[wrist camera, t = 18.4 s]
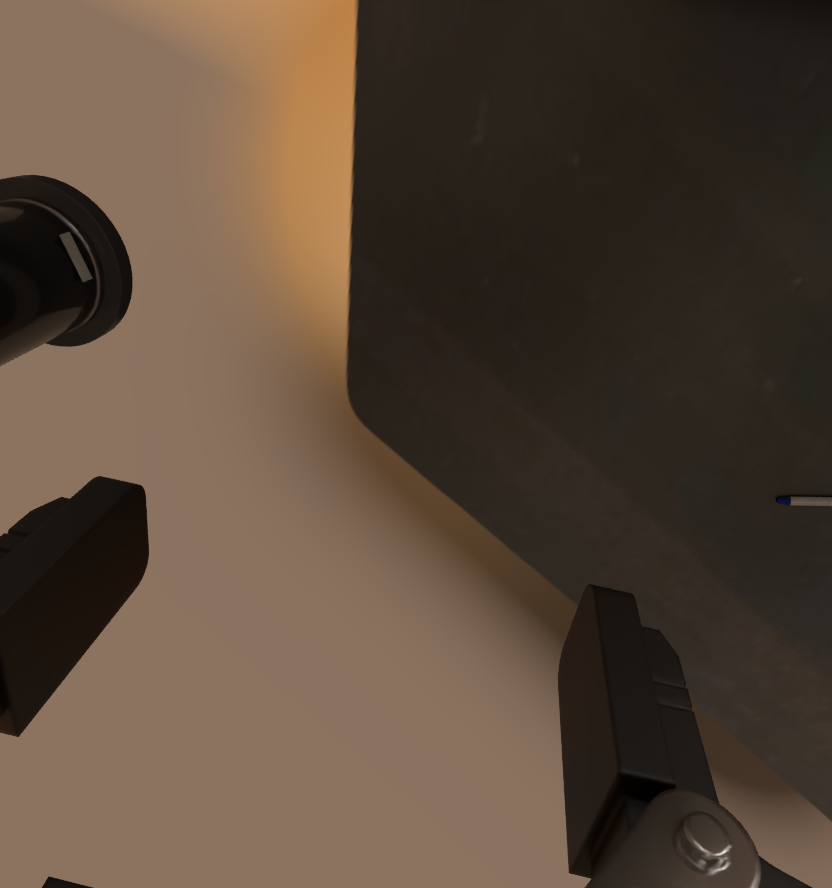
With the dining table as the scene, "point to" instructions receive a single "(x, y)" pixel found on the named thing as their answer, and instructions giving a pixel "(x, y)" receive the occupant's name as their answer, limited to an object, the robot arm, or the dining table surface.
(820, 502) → the ballpoint pen
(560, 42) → the dining table surface
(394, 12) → the dining table surface
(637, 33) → the dining table surface
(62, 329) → the robot arm
